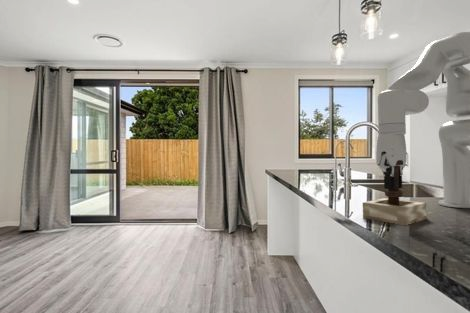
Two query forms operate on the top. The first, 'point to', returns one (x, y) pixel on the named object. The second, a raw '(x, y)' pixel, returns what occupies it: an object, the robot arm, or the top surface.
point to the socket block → (395, 211)
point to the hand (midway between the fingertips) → (393, 187)
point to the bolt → (395, 193)
